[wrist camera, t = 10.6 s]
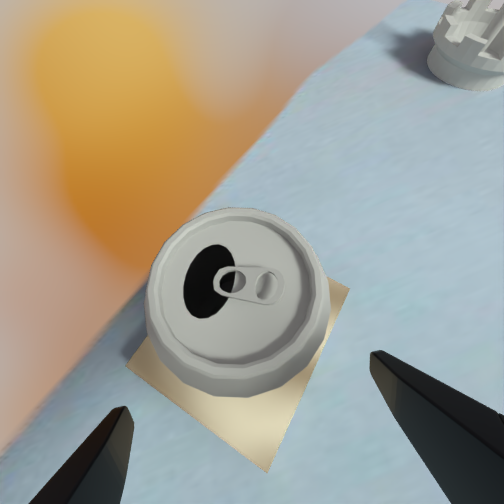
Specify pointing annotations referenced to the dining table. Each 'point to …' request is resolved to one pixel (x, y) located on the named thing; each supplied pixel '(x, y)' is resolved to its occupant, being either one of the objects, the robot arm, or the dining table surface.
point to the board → (238, 398)
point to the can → (236, 302)
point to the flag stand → (469, 46)
